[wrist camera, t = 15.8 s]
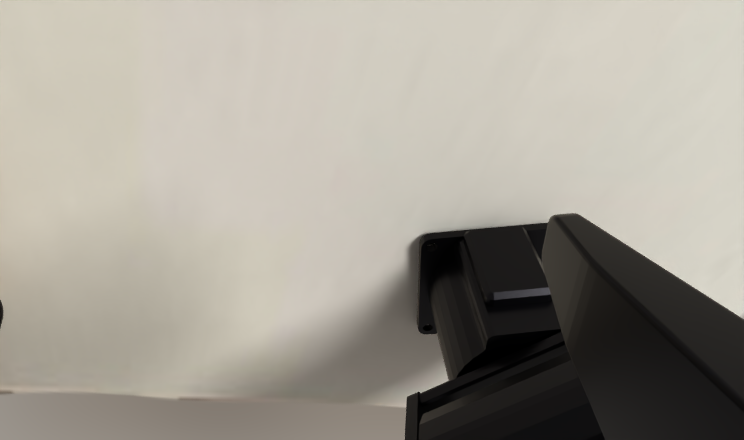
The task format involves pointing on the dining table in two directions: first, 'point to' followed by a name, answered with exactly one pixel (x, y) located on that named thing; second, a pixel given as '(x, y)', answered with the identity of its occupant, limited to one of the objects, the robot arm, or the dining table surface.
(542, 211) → the dining table surface
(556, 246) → the robot arm
